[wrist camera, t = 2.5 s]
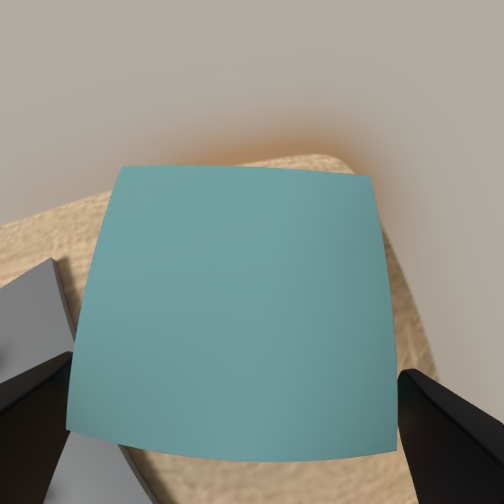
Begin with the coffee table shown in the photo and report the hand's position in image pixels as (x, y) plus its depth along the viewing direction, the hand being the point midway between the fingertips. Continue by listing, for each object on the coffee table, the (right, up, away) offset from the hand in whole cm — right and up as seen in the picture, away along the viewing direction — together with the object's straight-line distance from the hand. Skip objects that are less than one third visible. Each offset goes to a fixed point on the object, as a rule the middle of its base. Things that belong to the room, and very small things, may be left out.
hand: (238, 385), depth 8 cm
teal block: (0, -3, +8) cm, 9 cm away
